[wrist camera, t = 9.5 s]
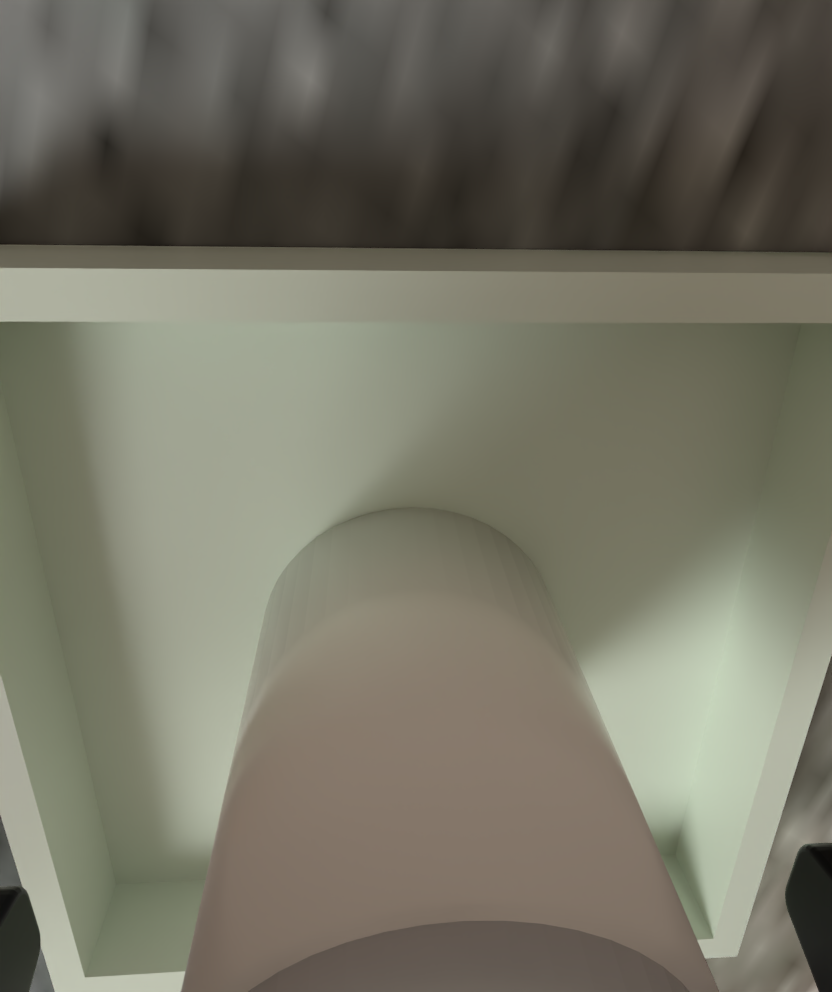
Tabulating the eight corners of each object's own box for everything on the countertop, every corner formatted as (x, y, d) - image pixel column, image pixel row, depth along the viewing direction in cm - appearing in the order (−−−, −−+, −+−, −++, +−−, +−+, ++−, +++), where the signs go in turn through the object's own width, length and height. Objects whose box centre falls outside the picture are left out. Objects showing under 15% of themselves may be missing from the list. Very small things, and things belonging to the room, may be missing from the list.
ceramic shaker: (566, 505, 12) (990, 1224, 4) (539, 743, 14) (775, 1525, 6) (251, 509, 12) (-10, 1309, 4) (273, 752, 14) (141, 1595, 6)
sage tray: (831, 252, 11) (951, 274, 9) (685, 848, 17) (736, 956, 14) (-54, 244, 10) (-169, 266, 8) (100, 879, 16) (57, 1000, 14)
